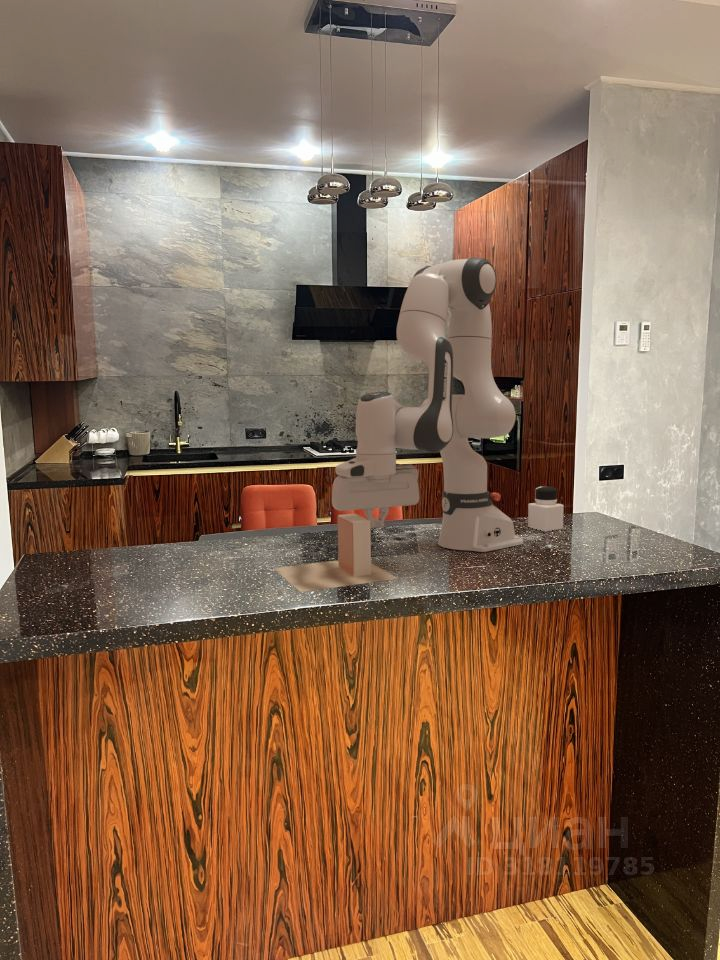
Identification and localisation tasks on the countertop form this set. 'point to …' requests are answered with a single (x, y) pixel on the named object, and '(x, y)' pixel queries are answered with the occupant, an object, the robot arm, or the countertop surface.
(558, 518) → the medicine bottle
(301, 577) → the cloth
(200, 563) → the countertop surface
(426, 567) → the countertop surface
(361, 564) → the block
